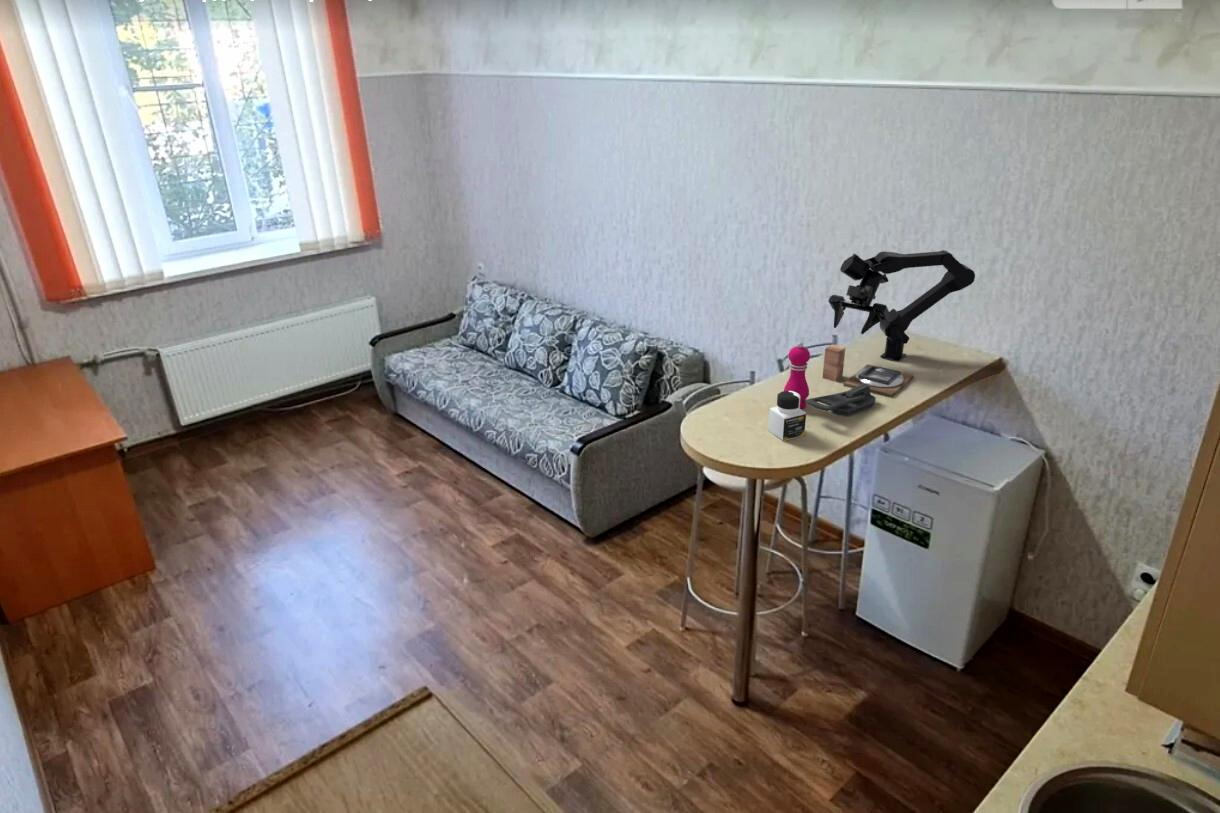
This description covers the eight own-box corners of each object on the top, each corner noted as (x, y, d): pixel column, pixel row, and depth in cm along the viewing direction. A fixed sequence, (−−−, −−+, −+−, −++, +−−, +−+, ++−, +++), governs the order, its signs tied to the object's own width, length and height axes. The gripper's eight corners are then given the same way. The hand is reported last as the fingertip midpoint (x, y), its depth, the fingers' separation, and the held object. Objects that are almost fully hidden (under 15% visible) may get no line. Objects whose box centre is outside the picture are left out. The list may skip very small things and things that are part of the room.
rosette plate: (866, 366, 249) (867, 361, 248) (910, 376, 241) (910, 371, 240) (848, 381, 239) (848, 375, 238) (892, 392, 231) (893, 386, 230)
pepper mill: (791, 398, 232) (796, 335, 223) (812, 405, 227) (818, 341, 218) (777, 406, 227) (782, 342, 219) (799, 413, 223) (804, 348, 214)
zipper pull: (801, 399, 216) (856, 374, 230) (799, 420, 219) (853, 395, 233) (827, 409, 210) (882, 383, 223) (825, 431, 213) (879, 404, 226)
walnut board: (867, 367, 251) (867, 364, 250) (913, 377, 242) (913, 374, 242) (843, 385, 238) (843, 382, 238) (891, 397, 230) (891, 394, 229)
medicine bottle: (782, 441, 208) (785, 401, 203) (767, 430, 214) (770, 391, 209) (804, 436, 210) (808, 396, 205) (789, 425, 216) (792, 386, 211)
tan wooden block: (829, 373, 247) (832, 344, 243) (842, 377, 245) (845, 347, 240) (822, 378, 244) (825, 348, 240) (835, 381, 242) (838, 351, 237)
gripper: (833, 270, 245) (813, 312, 243) (890, 279, 234) (869, 324, 231) (843, 287, 254) (823, 329, 252) (898, 298, 242) (878, 341, 240)
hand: (847, 330), depth 243 cm, fingers open, 9 cm apart
